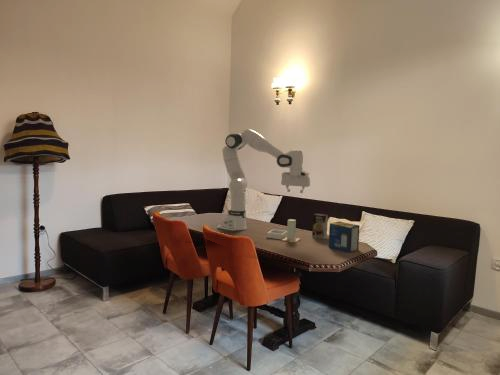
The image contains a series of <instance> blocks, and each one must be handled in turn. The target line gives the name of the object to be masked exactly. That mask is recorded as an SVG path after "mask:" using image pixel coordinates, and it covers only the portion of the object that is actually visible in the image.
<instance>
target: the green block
mask: <svg viewBox="0 0 500 375" xmlns="http://www.w3.org/2000/svg"><path fill="white" fill-rule="evenodd" d="M296 226H297V219H291V218H289V219H287V228H286V231H287V239H288V240H294V239H295V238H296V230H297V229H296Z"/></svg>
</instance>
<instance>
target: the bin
mask: <svg viewBox="0 0 500 375" xmlns="http://www.w3.org/2000/svg"><path fill="white" fill-rule="evenodd" d="M285 237H287V230H282V229H281V230H280V229H275V228H274V229H271V230H270V231H268V232H266V238H269V239H277V240H282V239H284V238H285Z"/></svg>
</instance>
